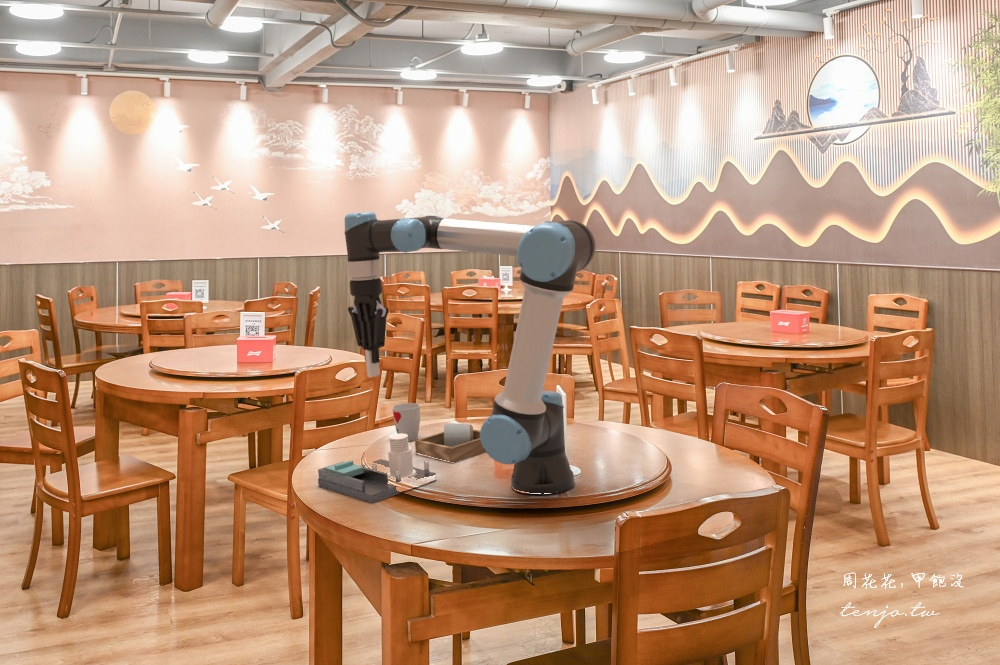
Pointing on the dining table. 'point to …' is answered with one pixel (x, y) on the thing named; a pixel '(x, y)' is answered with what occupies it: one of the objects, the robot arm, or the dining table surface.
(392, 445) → the downlight
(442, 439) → the wooden caddy
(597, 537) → the dining table surface
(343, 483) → the housing board
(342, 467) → the cover
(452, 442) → the ceramic mug
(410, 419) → the cup
